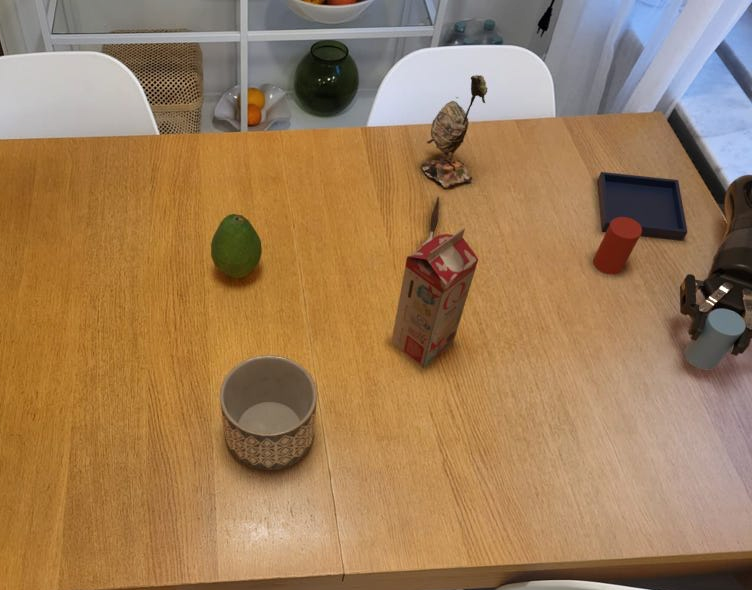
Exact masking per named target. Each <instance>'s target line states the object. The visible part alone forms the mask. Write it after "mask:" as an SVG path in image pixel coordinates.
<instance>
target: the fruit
mask: <svg viewBox="0 0 752 590" xmlns="http://www.w3.org/2000/svg"><path fill="white" fill-rule="evenodd" d="M262 253H263V249H262V240H261V238H260V237H259V234H258V232H257V231H256V229H255V227H254V226H253V225H252V223H251V222H250V221H249V220H248V219H247V218H246V217H245V216H244V215H242V214H235V213H232V214H228V215H226V216H225V217H224V218H223V219H222V220H221V221H220V223H219V225H218V227H217V228H216V231H214V234H213V237H212V239H211V242H210V256H211V259H212V262H213V264H214V266H215V268H217V269H218V271H220V273H222V274H223V275H224V276H226V277H228V278H231V279H243V278H246V277H247V276H249V275H250V274H252V273H253V272H254V271H255V269H256V268H257V267H258V265H259V263H260V261H261V258H262Z"/></svg>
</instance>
